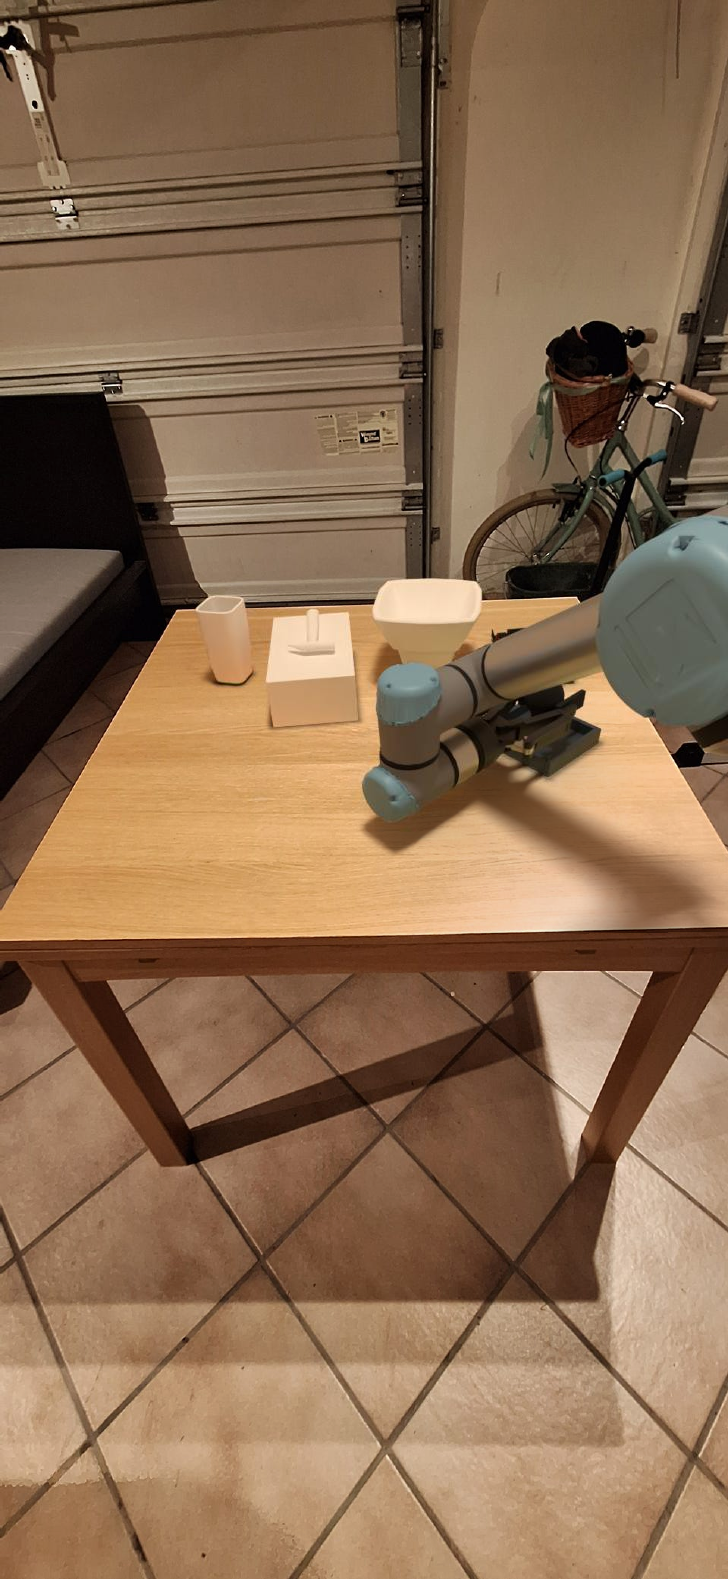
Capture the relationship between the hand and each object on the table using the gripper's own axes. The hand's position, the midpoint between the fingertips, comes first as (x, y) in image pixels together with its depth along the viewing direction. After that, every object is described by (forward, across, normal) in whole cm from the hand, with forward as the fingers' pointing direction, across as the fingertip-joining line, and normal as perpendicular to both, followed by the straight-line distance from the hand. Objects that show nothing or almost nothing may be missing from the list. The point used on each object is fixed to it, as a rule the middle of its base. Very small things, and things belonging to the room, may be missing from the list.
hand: (564, 689), depth 98 cm
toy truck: (+15, -18, -7) cm, 24 cm away
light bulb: (-5, 0, -6) cm, 8 cm away
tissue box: (-20, -39, -7) cm, 44 cm away
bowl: (-1, -29, -7) cm, 30 cm away
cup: (-29, -53, -7) cm, 61 cm away
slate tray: (-5, 0, -7) cm, 9 cm away
